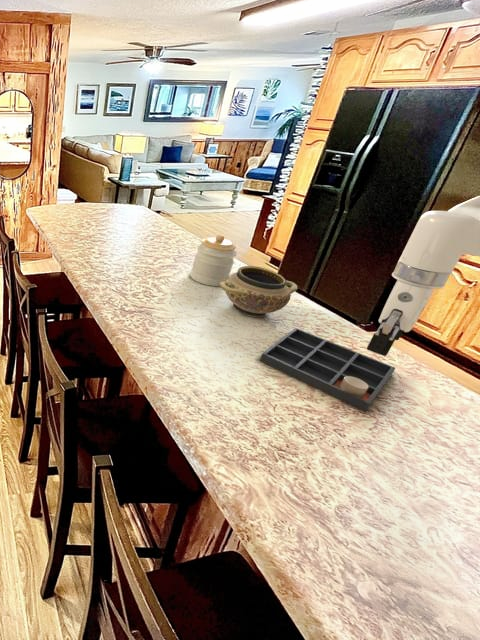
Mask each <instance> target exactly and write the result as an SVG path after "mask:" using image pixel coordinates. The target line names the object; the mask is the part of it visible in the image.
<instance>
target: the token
mask: <svg viewBox="0 0 480 640" xmlns="http://www.w3.org/2000/svg"><path fill="white" fill-rule="evenodd" d="M339 388H340V389H342V390H344V391H347V392H349V393H351V394H353V395H355V396H357V397H359V398H363V396H364V395H365V393H366V391H367V389H368V385H367V383H365V382H364V381H362V380H360V379H358V378H356V377H352V376H346V377H344V379H343V381H342V383H341V385H340V386H339Z"/></svg>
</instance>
